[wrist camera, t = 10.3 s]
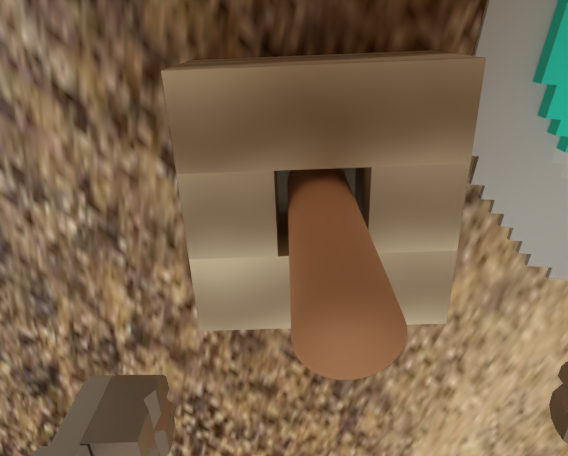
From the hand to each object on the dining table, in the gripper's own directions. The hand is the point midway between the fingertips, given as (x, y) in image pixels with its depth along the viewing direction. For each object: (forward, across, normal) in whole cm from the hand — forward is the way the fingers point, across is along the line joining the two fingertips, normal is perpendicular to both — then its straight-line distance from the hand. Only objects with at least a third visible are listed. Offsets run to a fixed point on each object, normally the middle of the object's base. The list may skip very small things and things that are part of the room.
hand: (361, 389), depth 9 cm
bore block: (+16, 0, +1) cm, 16 cm away
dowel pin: (+14, 0, +1) cm, 14 cm away
